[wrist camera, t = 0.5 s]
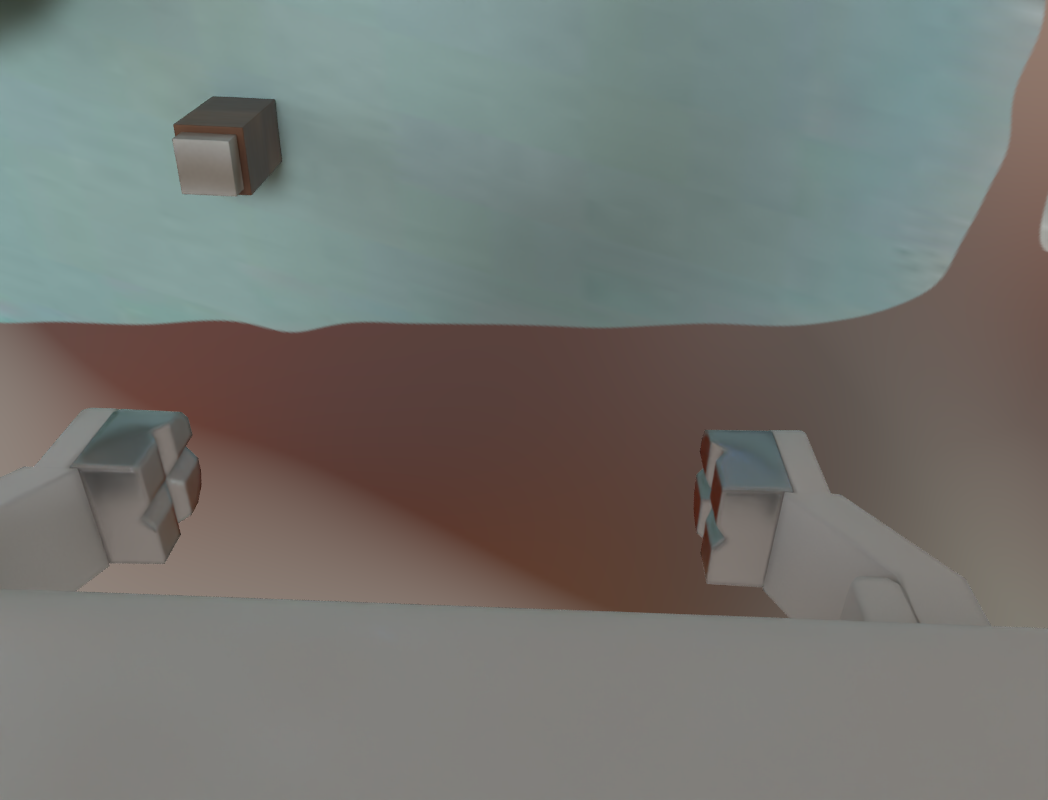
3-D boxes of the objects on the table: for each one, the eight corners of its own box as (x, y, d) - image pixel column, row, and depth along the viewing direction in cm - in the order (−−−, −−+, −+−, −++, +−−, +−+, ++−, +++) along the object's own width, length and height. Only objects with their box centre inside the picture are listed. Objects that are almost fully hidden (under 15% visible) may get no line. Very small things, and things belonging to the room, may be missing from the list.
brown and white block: (212, 96, 55) (163, 131, 48) (275, 99, 55) (234, 134, 48) (221, 158, 57) (176, 200, 50) (282, 161, 57) (244, 203, 50)
